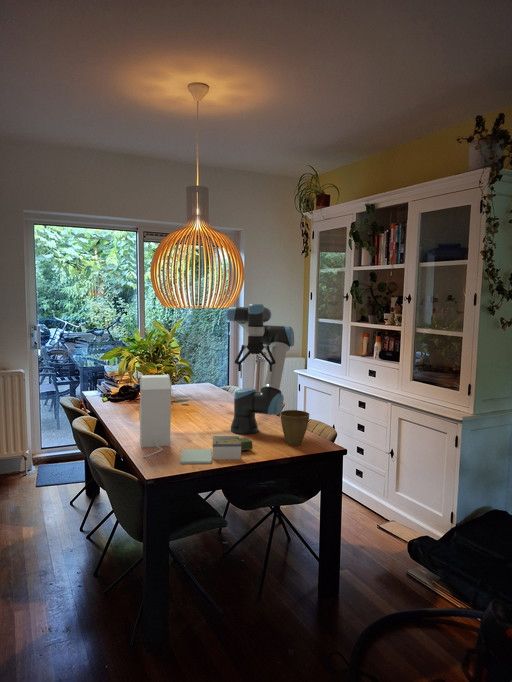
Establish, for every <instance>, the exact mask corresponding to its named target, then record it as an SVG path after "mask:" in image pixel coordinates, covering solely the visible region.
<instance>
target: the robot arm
mask: <svg viewBox="0 0 512 682" xmlns="http://www.w3.org/2000/svg"><path fill="white" fill-rule="evenodd" d="M226 316H227V317H226V318H227V320H228V321H229V322H236V323H237V324H238V325H239V326H241V327H242V328H243V329H244V330H245V331H246V332H247V334H248V336H247V345H245V344H241V345H240V346H241V348H240V350H239V352H238V355H237V356H236V358H235V360H234V364H236V365H237V367H238V368H237V370H238V372H240V377H239V378H240V379H243V364H242V363H243V362H245V360H246V359H247V358H249V356H250V355H259V354H260V355H261V356H262V358H263V359H264V360H266V362H267V363H268V364H267V370H266V376H265V380H264V385H263V386H262V387H261V388H260V391H257V389H255V388H251V387H250V388H241V389H238V390H236V391H235V392H234V398H233V400H234V401H233V407H234V408H233V414H234V415H233V419H232V422H231V425H230V431H231V433H234V434H237V435H242V434H243V435H251V434H255V433H258V431H259V426H258V422H257V419H256V414H260V415H269V416H275V415H276V416H277V415H279V414H280V412H282V409H283V408H284V407H283V405H284V398H285V397H284V394H283V392H282V390H281V389H280V387H281V384H282V377H283V373H284V372H283V371H284V366H285V362H286V356H287V353H288V352H289V351H290V348H292V347H294V346H295V332H294V329H293V327H292V326H287V325H270V324H269V325H268V324H267V325H265V324H264V323H267V322H269V321H270V320H271V318H272V312H271V309H269V308H268V307H264V304H262V303H250V304H249V305H248V306H230V307H228V309H227V313H226ZM246 349H247V350H248V351H246V353H245V355H243V352H244V351H245V350H246ZM264 349H265V350H266V351H267V353H268V355H269V358H268V357H267V355H266V354H265V353H264V352H263V350H264ZM270 349H271V350H270ZM242 355H243V356H242ZM241 356H242V357H241Z"/></svg>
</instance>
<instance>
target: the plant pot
mask: <svg viewBox="0 0 512 682" xmlns="http://www.w3.org/2000/svg"><path fill="white" fill-rule="evenodd" d="M279 414H280V422H281V429H282V433H283V436H284V439H285V442H286V444H287V445H288V446H291V447H292V446H293V447H298V446H301V445H302V442H303V441H304V438H305V435H306V432H307V428H308V423H309V421H310V413H309V412H307V411H304V410H299V409H298V410H297V409H286V410H281V411H280V413H279Z"/></svg>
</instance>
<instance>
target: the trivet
mask: <svg viewBox="0 0 512 682" xmlns="http://www.w3.org/2000/svg"><path fill="white" fill-rule="evenodd" d="M180 454H181V455H180V458H179V464H180V465H181V464H182V465H190V464H192V465H193V464H201V465H203V464H204V465H205V464H208V465H209V464H211V465H212V460H213V448H201V449H200V448H191V449H190V448H185V449H184V448H182V449H181V453H180Z"/></svg>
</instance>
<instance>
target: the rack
mask: <svg viewBox="0 0 512 682" xmlns="http://www.w3.org/2000/svg"><path fill="white" fill-rule="evenodd" d="M237 438H240V434H237V435H236V434H229V435H228V434H223V435H222V434H215V435H214V434H213V435H212V460H216V461H217V460H242V451H241V443H216V441H223V440H230V439H237Z"/></svg>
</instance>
